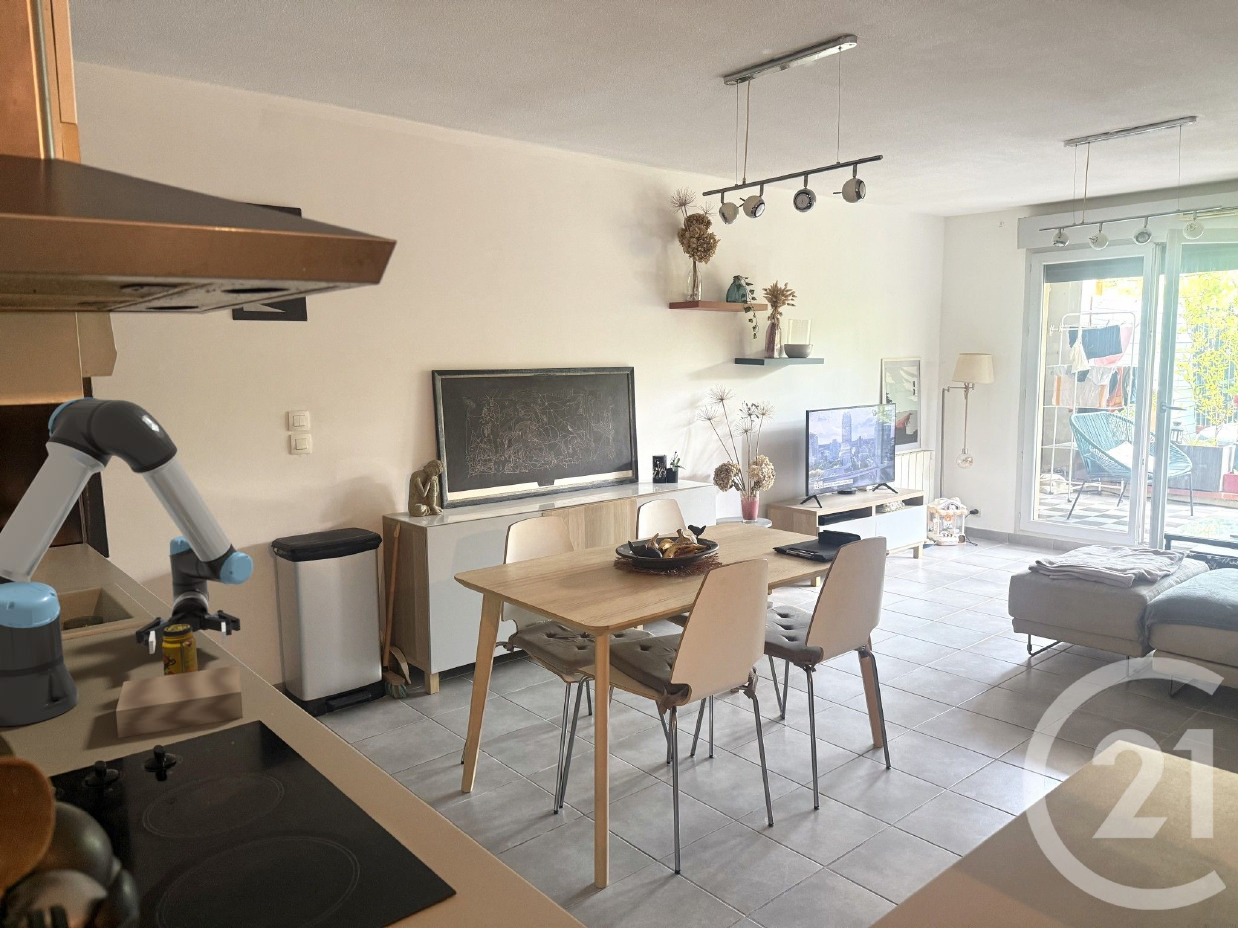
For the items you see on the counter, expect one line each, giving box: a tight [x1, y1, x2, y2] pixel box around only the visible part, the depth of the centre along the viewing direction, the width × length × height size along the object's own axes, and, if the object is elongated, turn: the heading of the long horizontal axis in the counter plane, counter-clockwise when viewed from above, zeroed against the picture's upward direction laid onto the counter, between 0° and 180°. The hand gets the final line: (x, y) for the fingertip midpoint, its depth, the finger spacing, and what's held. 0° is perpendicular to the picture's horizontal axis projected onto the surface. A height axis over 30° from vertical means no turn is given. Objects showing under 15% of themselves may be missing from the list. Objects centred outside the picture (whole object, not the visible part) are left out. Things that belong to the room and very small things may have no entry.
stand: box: [115, 664, 244, 739], centre depth 162 cm, size 20×14×5 cm
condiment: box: [161, 624, 199, 676], centre depth 175 cm, size 7×8×12 cm
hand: (188, 642), depth 181 cm, fingers open, 13 cm apart
